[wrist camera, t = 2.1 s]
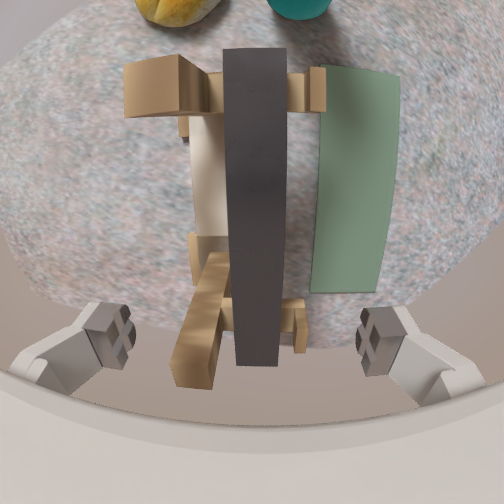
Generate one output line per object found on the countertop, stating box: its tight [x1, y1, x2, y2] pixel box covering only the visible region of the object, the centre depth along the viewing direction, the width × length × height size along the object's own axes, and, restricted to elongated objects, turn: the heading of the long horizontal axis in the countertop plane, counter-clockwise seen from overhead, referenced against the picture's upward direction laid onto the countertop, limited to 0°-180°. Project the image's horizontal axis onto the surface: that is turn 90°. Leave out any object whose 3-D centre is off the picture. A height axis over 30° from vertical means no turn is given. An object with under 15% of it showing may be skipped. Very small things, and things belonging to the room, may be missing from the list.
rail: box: [223, 48, 287, 366], centre depth 17 cm, size 3×20×3 cm, turn 1°
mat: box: [309, 64, 400, 293], centre depth 26 cm, size 8×24×1 cm, turn 1°
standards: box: [123, 54, 326, 390], centre depth 20 cm, size 11×22×16 cm, turn 1°
